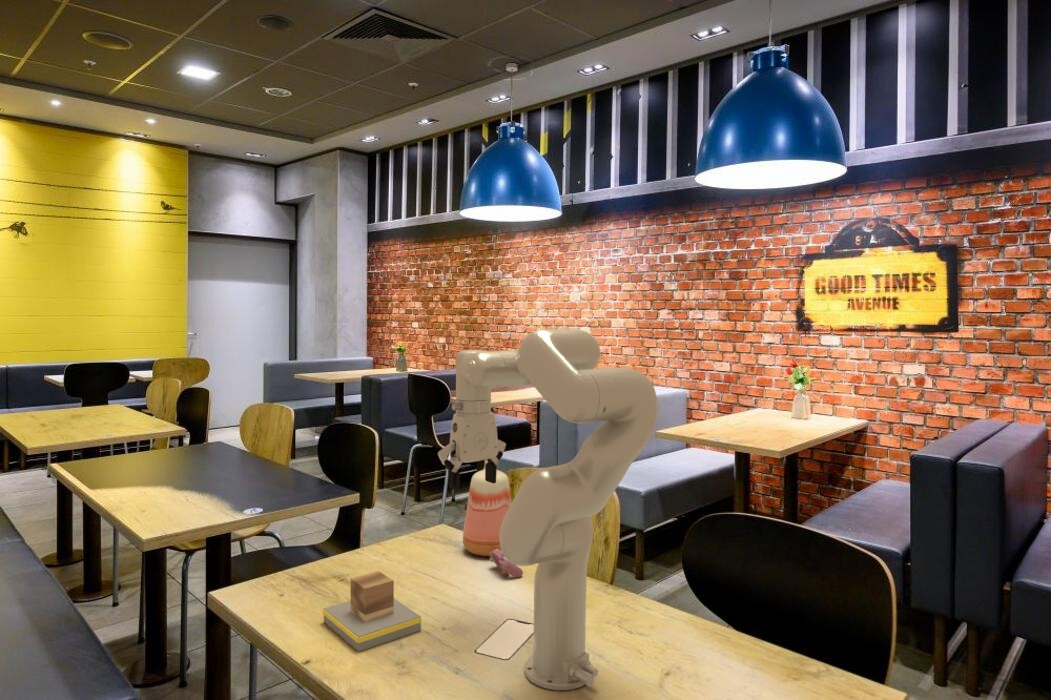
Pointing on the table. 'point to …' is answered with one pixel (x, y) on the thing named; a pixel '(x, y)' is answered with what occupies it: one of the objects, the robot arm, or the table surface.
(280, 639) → the table surface
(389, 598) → the brown wooden block
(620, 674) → the table surface
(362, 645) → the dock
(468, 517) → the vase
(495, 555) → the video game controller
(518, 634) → the smartphone
